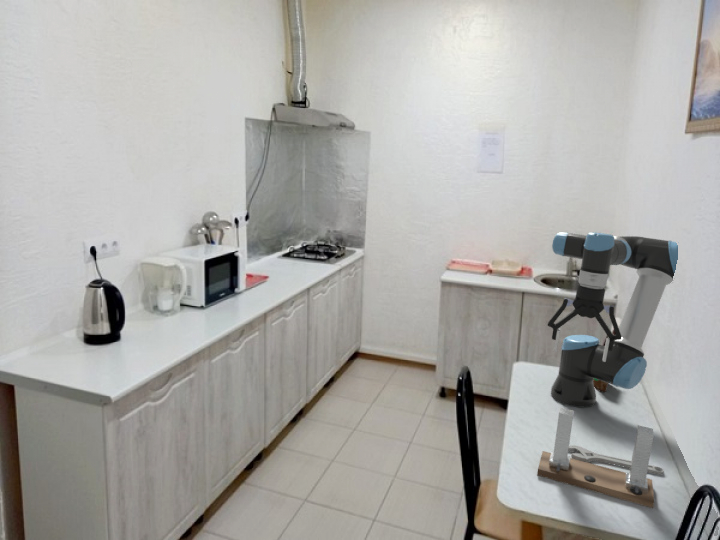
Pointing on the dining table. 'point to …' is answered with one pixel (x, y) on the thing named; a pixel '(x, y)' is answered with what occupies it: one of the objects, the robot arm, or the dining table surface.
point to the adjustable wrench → (606, 459)
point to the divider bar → (595, 480)
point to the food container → (600, 385)
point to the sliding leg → (562, 440)
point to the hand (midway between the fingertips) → (579, 355)
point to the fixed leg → (640, 460)
